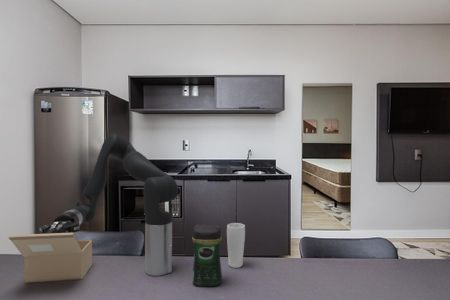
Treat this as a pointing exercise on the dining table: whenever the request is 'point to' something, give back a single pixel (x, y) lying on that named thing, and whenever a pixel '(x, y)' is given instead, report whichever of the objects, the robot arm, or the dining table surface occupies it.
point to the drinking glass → (235, 244)
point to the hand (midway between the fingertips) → (48, 236)
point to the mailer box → (58, 265)
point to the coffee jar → (207, 255)
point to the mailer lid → (46, 244)
